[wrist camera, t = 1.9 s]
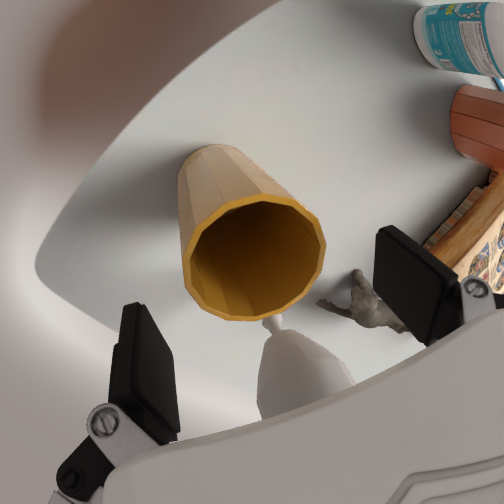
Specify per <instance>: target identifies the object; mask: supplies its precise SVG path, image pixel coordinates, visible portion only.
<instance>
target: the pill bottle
mask: <svg viewBox="0 0 504 504" xmlns="http://www.w3.org/2000/svg"><path fill="white" fill-rule="evenodd" d="M413 29H414V35H415V39H416V42H417V45H418V47H419V49H420V51H421V52H422V54H423V55H424V57H425V58H426V59H427V60H428V61H429V62H430V63H431V64H432V65H433V66H435V67H436V68H438V69H441V70H446V71H455V72H463V73H470V74H477V75H483V76H489V77H494V78H499V79H504V4H502V3H497V2H473V3H455V4H443V5H434V6H427V7H423V8H421V9H420V10H419V11H418V12H417V13H416V15H415V17H414V22H413Z"/></svg>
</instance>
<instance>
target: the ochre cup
mask: <svg viewBox="0 0 504 504" xmlns="http://www.w3.org/2000/svg"><path fill="white" fill-rule="evenodd" d="M177 189H178V210H179V227H180V242H181V255H182V265H183V275H184V284H185V288H186V289H187V291H188V292H189V293H190V295H191V296H192V297H193V299H194V300H195V301H196V302H197V304H198V305H199V306H200V308H201V309H203V310H205V311H207V312H209V313H211V314H213V315H216V316H218V317H220V318H222V319H225V320H229V321H257V320H260V319H263V318H266V317H270V316H273V315H276V314H279V313H282V312H284V311H285V310H286V309H288V308H289V307H290V306H292V305H293V304H294V303H296V302H297V301H298V300H300V299H301V298H302V297H304V296H305V295H306V294H307V292H308V291H309V289H310V288H311V287H312V285H313V284H314V282H315V281H316V279H317V278H318V276H319V274H320V273H321V271H322V266H323V261H324V255H325V250H326V242H325V238H324V235H323V232H322V229H321V226H320V223H319V220H318V218H317V217H316V216H315V215H314V214H313V213H311V212H310V211H309V210H308V209H307V208H306V207H305V206H304V205H303V204H301V203H300V202H299V201H298V200H297V199H296V198H295V197H294V196H292V195H291V194H290V193H289V192H288V191H287V190H286V189H285V188H283V187H282V186H281V185H280V184H279V183H278V182H276V181H275V180H274V179H273V178H272V177H271V176H269V175H268V174H267V173H266V172H265V171H264V170H262V169H261V168H260V167H259V166H258V165H256V164H255V163H254V162H253V161H252V160H250V159H249V158H248V157H247V156H245V155H244V154H243V153H242V152H240V151H239V150H238V149H236V148H234V147H230V146H227V145H219V144H217V145H209V146H206V147H203V148H200V149H198V150H197V151H195V152H194V153H192V154H191V155H190V156H189V157H188V158H187V159H186V160H185V162H184V163H183V165H182V167H181V169H180V172H179V175H178V177H177Z"/></svg>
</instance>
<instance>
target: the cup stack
mask: <svg viewBox="0 0 504 504" xmlns="http://www.w3.org/2000/svg"><path fill="white" fill-rule="evenodd" d="M450 111H451V112H450V132H451V136H452V139H453V142H454V145H455V148H456V150H457V151H458V152H459V153H460V154H461V155H462V156H463V157H464V158H467V159H469V160H471V161H474V162H476V163H478V164H481V165H483V166H485V167H487V168H490V169H492V170H494V171H496V172H498V173H500V174H502V175H504V92H501V91H496V90H492V89H487V88H483V87H478V86H472V85H466V84H465V85H463V86H462V87H461V88H460V89H459V90H458V91H457V92H456V94H455V96H454V100H453V103H452V107H451V110H450Z"/></svg>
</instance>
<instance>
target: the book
mask: <svg viewBox="0 0 504 504" xmlns="http://www.w3.org/2000/svg"><path fill="white" fill-rule="evenodd" d="M489 183H490V185H489V186H485V187H484V188H482V189H480V188H479V187H477V186H476V187H474V189H473V190H472V191H471V192H470V194H469V195H468V196H467V197H466V198H465V200H464V201H463V203H461V204H460V206H459V207H458V208H457V209H456V210H455V211H454V212H453V213H452V215H451V216H450V218H449V219H448V220H446V221H445V222H444V223H442V225H441V227H440V228H439V229H437V231H436V232H435V233H434V234H433V235H432V236H431V237H430V238H429V239H428V240H427V241H426V243H425V244H424V245H423V247H424V248H425V249H426V250H428V251H429V252H430V253H431V254H433V255H434V256H435V257H437V258H438V259H439V260H440V261H442V262H443V263H444V264H445V265H447V266H448V267H449V268H450V269H452V270H453V271H454V272H455V273H457V274H458V275H459V277H458V281H459V282H461V281H462V279H463V278H465V277H467V276H476V277H480V278H482V279H484V280H485V281H486V282H487V283H488V284H489V285H490V287H491V289H492V293H498V294H502V293H503V292H504V175H502V174H500V173H498V172H496V171H494V170H491V173H490V176H489Z"/></svg>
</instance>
